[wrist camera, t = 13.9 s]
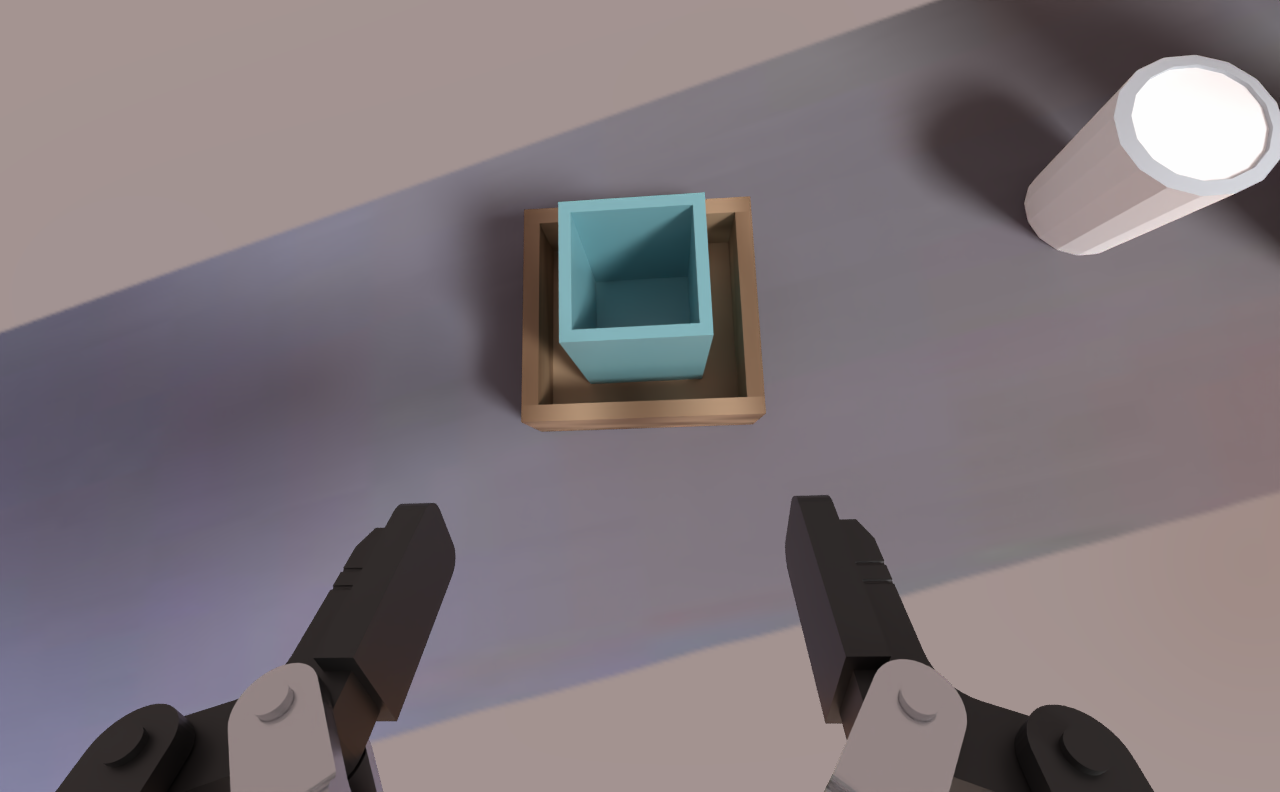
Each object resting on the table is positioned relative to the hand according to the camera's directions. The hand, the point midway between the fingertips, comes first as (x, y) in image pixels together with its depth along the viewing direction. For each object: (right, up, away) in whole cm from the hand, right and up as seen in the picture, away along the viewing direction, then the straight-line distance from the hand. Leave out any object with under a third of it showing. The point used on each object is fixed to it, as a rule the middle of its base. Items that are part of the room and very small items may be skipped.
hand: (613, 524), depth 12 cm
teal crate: (+1, +7, +17) cm, 18 cm away
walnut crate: (+1, +7, +17) cm, 19 cm away
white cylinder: (+25, +13, +17) cm, 33 cm away
